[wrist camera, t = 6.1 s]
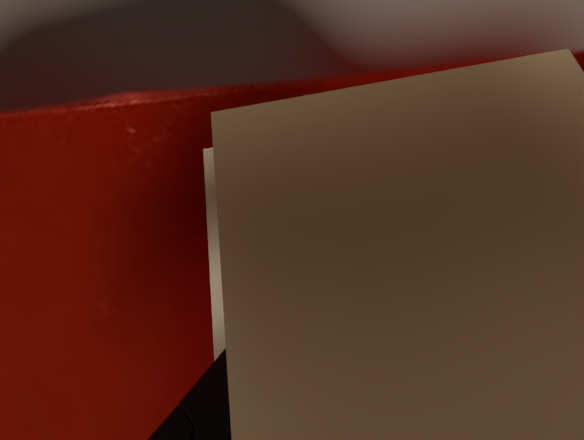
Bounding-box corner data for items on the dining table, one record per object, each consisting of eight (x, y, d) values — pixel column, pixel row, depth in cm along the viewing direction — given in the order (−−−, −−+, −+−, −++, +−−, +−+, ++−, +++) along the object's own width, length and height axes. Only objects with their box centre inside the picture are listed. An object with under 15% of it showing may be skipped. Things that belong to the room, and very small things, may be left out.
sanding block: (471, 482, 12) (1143, 912, 2) (317, 505, 12) (251, 1011, 2) (411, 272, 15) (570, 36, 5) (287, 293, 15) (203, 102, 5)
